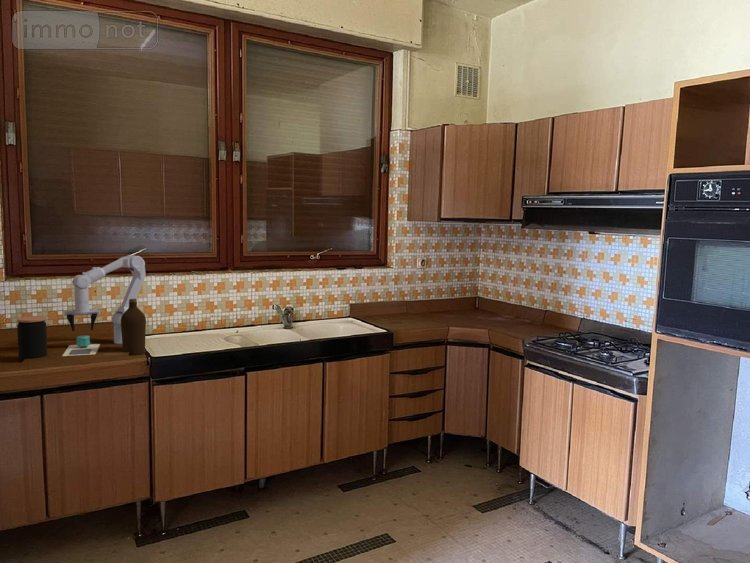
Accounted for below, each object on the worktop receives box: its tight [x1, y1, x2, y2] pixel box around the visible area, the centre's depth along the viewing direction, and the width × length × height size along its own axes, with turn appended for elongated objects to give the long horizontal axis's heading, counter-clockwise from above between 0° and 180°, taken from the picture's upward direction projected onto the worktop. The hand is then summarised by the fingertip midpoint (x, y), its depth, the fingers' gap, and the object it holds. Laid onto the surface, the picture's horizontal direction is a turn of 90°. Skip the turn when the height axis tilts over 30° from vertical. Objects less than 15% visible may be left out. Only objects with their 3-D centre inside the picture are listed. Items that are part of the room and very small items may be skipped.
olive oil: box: [121, 298, 147, 356], centre depth 255 cm, size 11×11×25 cm
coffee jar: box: [16, 315, 49, 363], centre depth 240 cm, size 11×11×18 cm
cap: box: [76, 334, 91, 346], centre depth 258 cm, size 5×5×4 cm
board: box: [62, 343, 101, 357], centre depth 254 cm, size 13×21×2 cm, turn 21°
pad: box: [69, 349, 92, 356], centre depth 249 cm, size 8×8×1 cm
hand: (82, 330), depth 258 cm, fingers open, 7 cm apart
